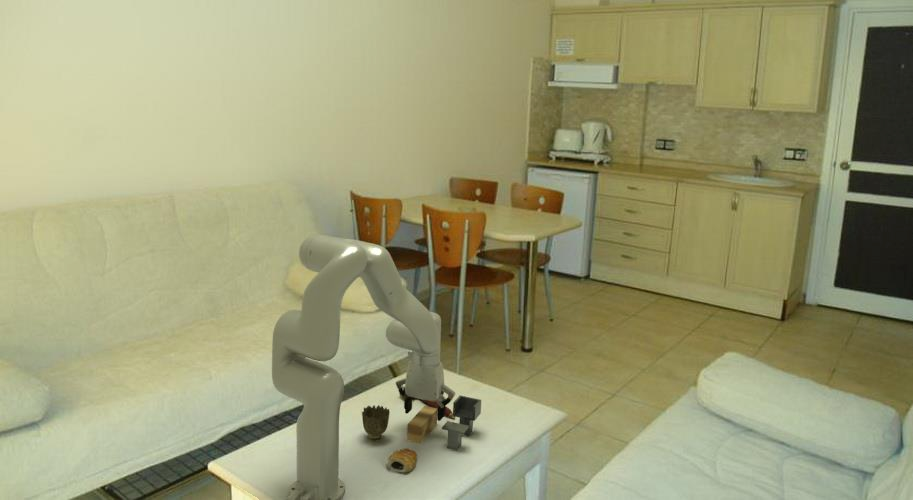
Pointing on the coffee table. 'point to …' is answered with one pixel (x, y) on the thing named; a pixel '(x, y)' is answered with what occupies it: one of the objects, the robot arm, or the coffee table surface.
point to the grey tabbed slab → (454, 434)
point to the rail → (422, 424)
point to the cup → (375, 421)
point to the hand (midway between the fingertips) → (424, 415)
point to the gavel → (435, 405)
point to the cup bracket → (467, 411)
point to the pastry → (402, 461)
